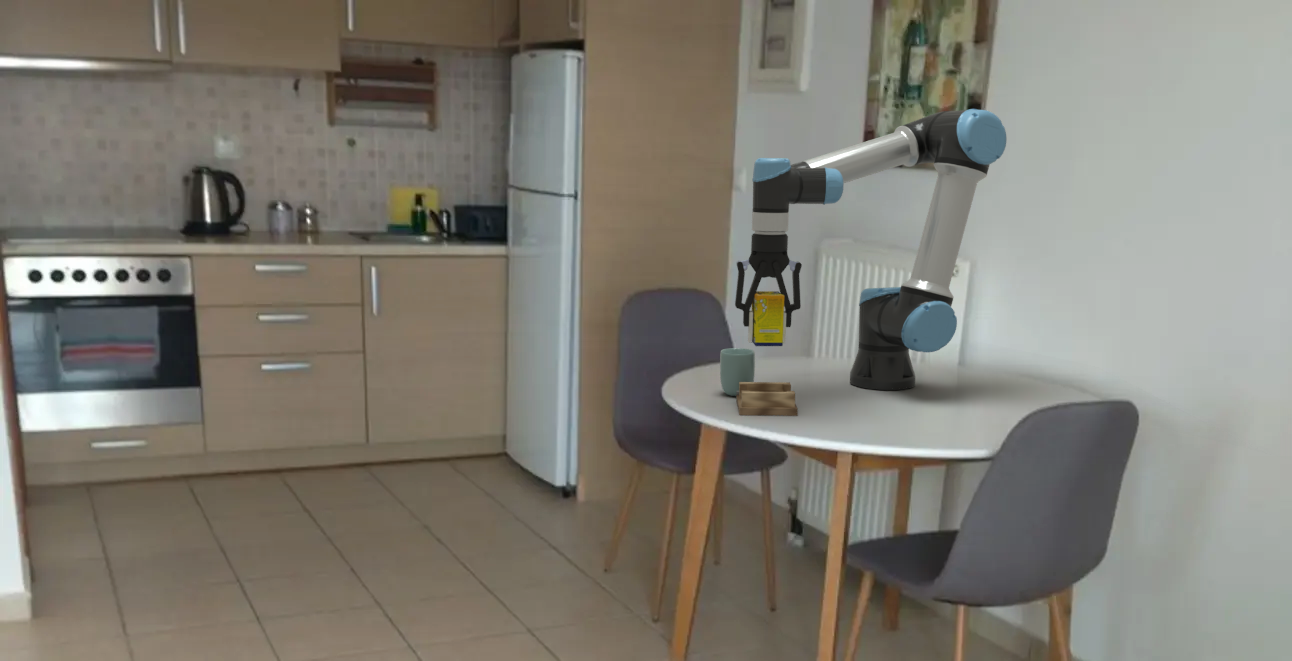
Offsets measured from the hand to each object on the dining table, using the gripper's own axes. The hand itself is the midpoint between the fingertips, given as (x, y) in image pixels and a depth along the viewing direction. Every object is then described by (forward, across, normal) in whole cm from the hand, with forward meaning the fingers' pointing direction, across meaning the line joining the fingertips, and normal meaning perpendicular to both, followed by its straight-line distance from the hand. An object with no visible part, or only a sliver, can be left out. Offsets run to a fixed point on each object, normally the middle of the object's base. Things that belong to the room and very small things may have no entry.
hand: (766, 341), depth 230 cm
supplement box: (+1, 0, 0) cm, 1 cm away
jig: (+14, 0, 0) cm, 14 cm away
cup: (+15, +5, -13) cm, 20 cm away
